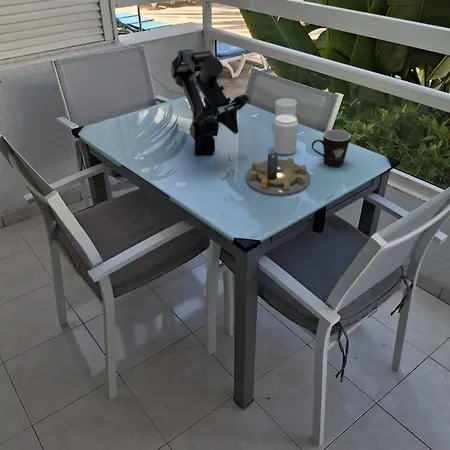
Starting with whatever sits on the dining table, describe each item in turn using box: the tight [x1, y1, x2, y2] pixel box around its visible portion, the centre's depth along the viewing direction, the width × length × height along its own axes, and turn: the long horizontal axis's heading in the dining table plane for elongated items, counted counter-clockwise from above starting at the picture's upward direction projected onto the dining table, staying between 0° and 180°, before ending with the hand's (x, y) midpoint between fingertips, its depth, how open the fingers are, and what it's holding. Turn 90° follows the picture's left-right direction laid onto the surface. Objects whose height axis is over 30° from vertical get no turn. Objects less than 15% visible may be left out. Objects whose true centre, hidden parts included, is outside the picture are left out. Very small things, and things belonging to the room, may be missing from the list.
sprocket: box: [249, 152, 308, 190], centre depth 147 cm, size 18×18×10 cm
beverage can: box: [272, 114, 299, 156], centre depth 164 cm, size 8×8×12 cm
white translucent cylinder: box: [275, 98, 298, 118], centre depth 180 cm, size 8×8×10 cm
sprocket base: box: [245, 164, 311, 197], centre depth 150 cm, size 20×20×1 cm
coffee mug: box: [311, 129, 352, 168], centre depth 156 cm, size 12×9×10 cm
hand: (236, 133), depth 148 cm, fingers closed
